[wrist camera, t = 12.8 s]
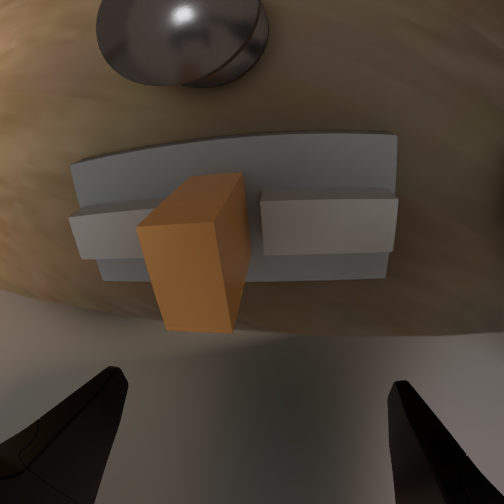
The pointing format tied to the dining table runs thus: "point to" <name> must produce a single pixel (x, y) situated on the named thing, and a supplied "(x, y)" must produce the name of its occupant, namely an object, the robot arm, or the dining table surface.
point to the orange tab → (199, 252)
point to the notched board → (253, 201)
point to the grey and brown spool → (182, 40)
